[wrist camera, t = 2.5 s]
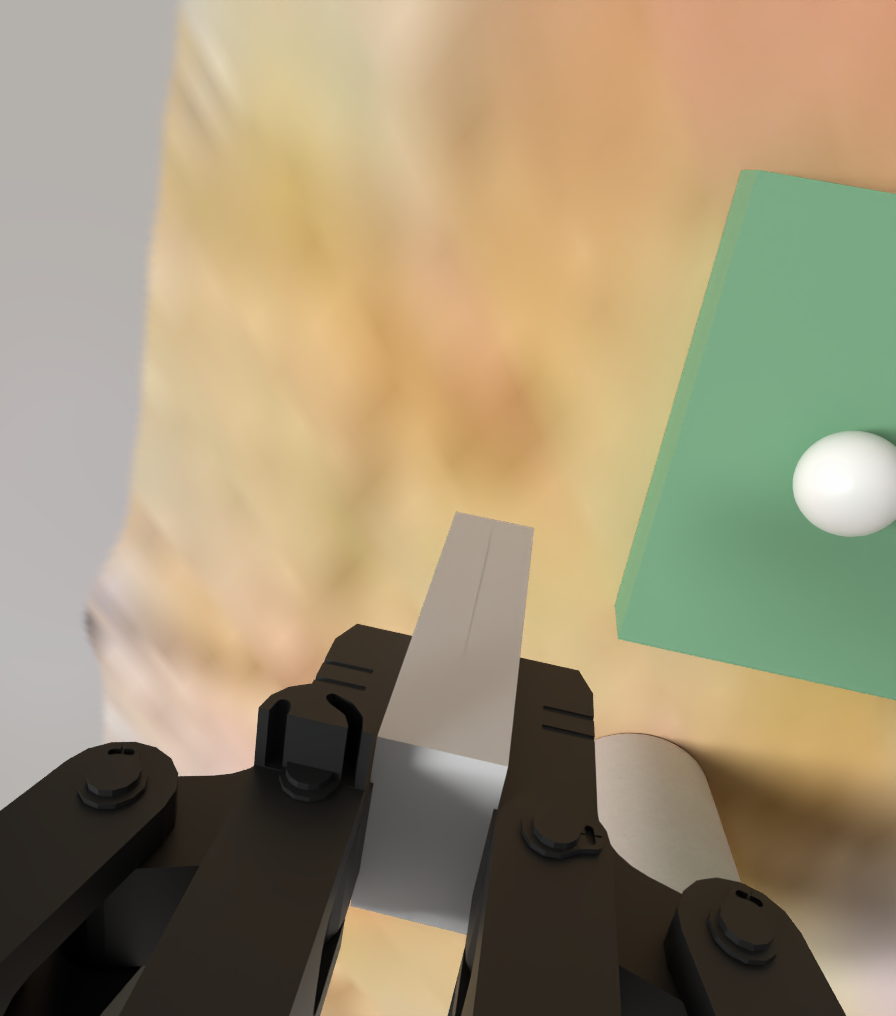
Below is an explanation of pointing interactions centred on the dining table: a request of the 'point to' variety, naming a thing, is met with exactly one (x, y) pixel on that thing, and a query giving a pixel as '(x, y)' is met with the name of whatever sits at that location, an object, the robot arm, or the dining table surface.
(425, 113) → the dining table surface
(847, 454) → the ball
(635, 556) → the green
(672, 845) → the coffee cup
